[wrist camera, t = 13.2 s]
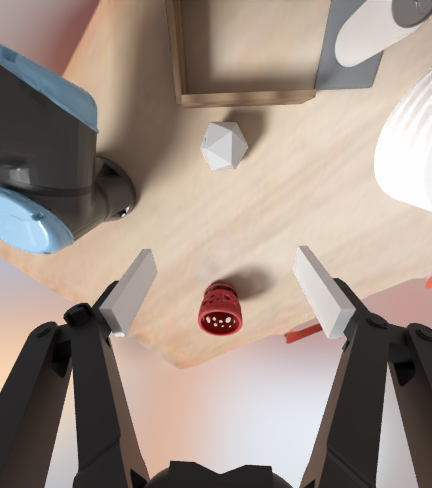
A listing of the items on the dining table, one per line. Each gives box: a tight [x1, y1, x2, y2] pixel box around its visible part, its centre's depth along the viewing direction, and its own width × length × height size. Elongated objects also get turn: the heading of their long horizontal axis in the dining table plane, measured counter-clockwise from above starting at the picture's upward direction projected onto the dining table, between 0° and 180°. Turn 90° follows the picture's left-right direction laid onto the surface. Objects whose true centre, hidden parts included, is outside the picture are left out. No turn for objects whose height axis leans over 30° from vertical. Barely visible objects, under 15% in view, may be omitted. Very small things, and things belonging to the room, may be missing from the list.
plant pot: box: [198, 283, 242, 336], centre depth 57 cm, size 13×13×12 cm
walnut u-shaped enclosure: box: [165, 0, 317, 108], centre depth 28 cm, size 23×16×6 cm
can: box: [335, 0, 432, 67], centre depth 25 cm, size 6×6×12 cm
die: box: [200, 122, 249, 171], centre depth 36 cm, size 8×9×10 cm
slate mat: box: [314, 0, 383, 90], centre depth 30 cm, size 10×12×1 cm
